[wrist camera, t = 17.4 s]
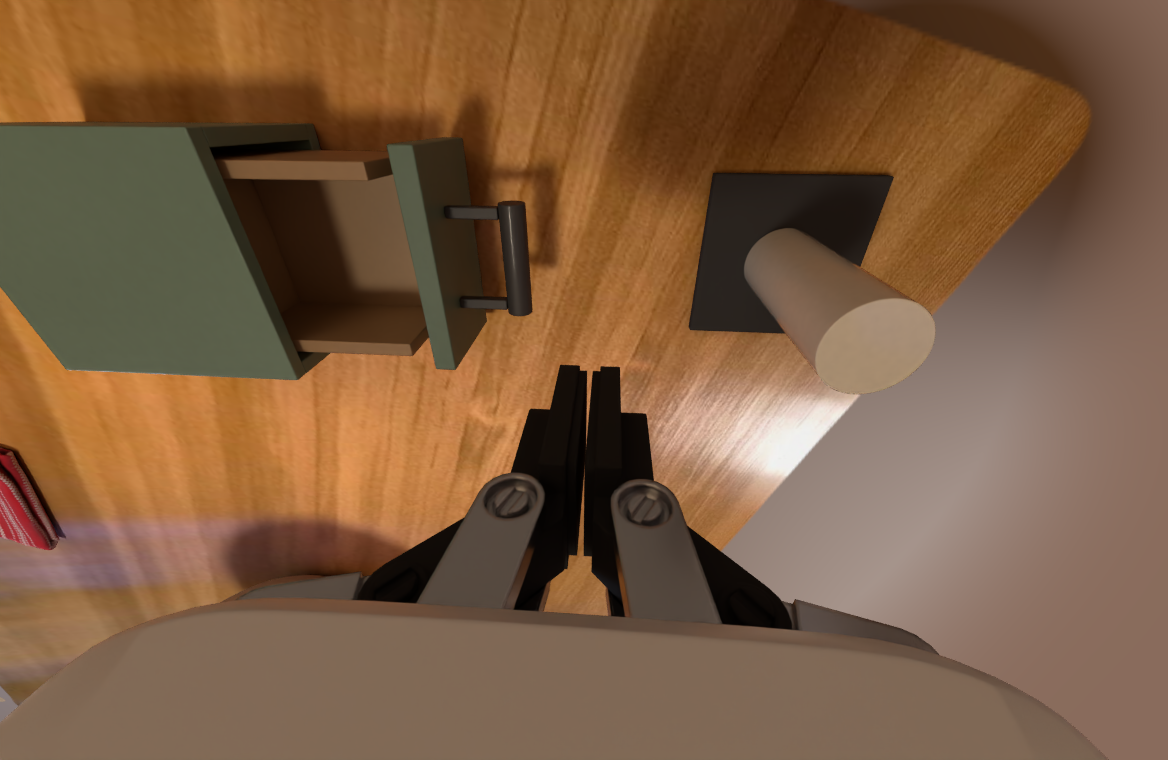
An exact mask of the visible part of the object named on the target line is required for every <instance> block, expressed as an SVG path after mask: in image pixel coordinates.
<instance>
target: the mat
mask: <svg viewBox="0 0 1168 760" xmlns="http://www.w3.org/2000/svg"><path fill="white" fill-rule="evenodd" d="M893 178H894V177H893V176H889V175H837V174H767V173H713V177H712V183H711V189H710V196H709V202H708V208H707V215H706V221H705V227H704V234H703V240H702V246H701V252H700V259H699V265H698V271H697V278H696V284H695V290H694V297H693V303H692V309H691V316H690V322H689V328H690V330H704V331H732V332H760V333H785V332H784V331H783V330H782V328H781V327H780V326H779V324H778V323H777V322H776V320H775V319H774V318H773V317H772V315H771V314H770V313H769V311H768V310H767V309H766V307H765V306H764V305H763V304H762V302H761V301H760V300H759V298H758V297H757V296H756V294H755V293H754V292H753V291H752V289H751V288H750V287H749V285H748V284H747V282H746V279H745V275H744V265H745V261H746V258H747V255H748V253H749V252H750V250H751V249H752V247H753V246H754V245H755V244H756V243H757V242H758V241H759V240H760V239H761V238H762V237H764V236H765V235H767V234H769V233H771V232H773V231H775V230H779V229H784V228H793V229H798V230H801V231H803V232H805V233H807V234H808V235H810V236H811V237H813V238H815V239H816V240H818V241H819V242H821V243H823V244H824V245H826V246H827V247H829V248H831V249H832V250H834V251H835V252H837V253H839V254H840V255H842V256H843V257H845V258H847V259H848V260H850V261H851V262H853V263H855V264H856V265H858V266H859V267H860V266H861V263H862V260H863V258H864V255H865V253H866V250H867V247H868V245H869V242H870V239H871V237H872V234H873V231H874V229H875V226H876V223H877V221H878V218H879V215H880V213H881V210H882V207H883V205H884V202H885V199H886V197H887V194H888V191H889V189H890V186H891V183H892V181H893Z"/></svg>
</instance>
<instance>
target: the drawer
mask: <svg viewBox="0 0 1168 760" xmlns="http://www.w3.org/2000/svg"><path fill="white" fill-rule="evenodd" d="M387 150H388V151H335V150H250V149H238V150H226V151H215V152H211V153H212V155H213V157H214V160H215V162H216V164H217V167H218V169H219V171H220V174H221V176H222V178H223V181H224V183H225V185H226V188H227V190H228V192H229V195H230V197H231V199H232V202H233V204H234V206H235V209H236V211H237V213H238V216H239V218H240V220H241V223H242V225H243V227H244V230H245V232H246V234H247V237H248V239H249V241H250V244H251V246H252V248H253V251H254V253H255V256H256V258H257V260H258V263H259V265H260V267H261V270H262V272H263V274H264V277H265V279H266V281H267V284H268V286H269V288H270V291H271V293H272V295H273V298H274V300H275V302H276V305H277V307H278V309H279V312H280V314H281V316H282V319H283V321H284V323H285V326H286V328H287V330H288V333H289V335H290V337H291V340H292V342H293V344H294V347H295V349H296V351H300V352H325V353H349V354H374V355H399V356H413V355H414V354H415V353H416V351H417V350H418V349H419V348H420V347H421V346H422V344H423V343H424V342H425V341H426V340H427V339H428V337H429V339H430V343H431V348H432V352H433V356H434V361H435V365H436V369H448V370H456V368H457V367H458V365H459V364H460V362H461V361H462V359H463V358H464V356H465V354H466V353H467V351H468V350H469V348H470V347H471V345H472V344H473V342H474V340H475V339H476V337H477V336H478V334H479V333H480V331H481V329H482V328H483V326H484V325H485V323H486V322H487V318H486V310H485V309H503V310H507V309H508V311H509V313H510V314H511V315H513V316H525V315H529V314H530V313H532V297H531V282H530V267H529V252H528V237H527V222H526V208H525V202H522V201H503V202H499V203H498V206H474V205H471V198H470V191H469V183H468V176H467V169H466V161H465V154H464V146H463V139H462V138H460V137H442V138H434V139H425V140H417V141H409V142H401V143H392V144H387ZM473 219H478V220H498V219H499V222H500V232H501V242H502V252H503V262H504V271H505V281H506V291H507V297H490V296H484V295H483V288H482V280H481V273H480V266H479V258H478V251H477V243H476V236H475V228H474V221H473Z"/></svg>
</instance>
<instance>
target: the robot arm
mask: <svg viewBox="0 0 1168 760" xmlns="http://www.w3.org/2000/svg"><path fill="white" fill-rule="evenodd" d="M586 415H587V371H580V366H577V365H560V368H559V372H558V377H557V381H556V386H555V390H554V395H553V399H552V404H551V408H550V410H549V409H530V410H529V413H528V416H527V420H526V423H525V426H524V430H523V433H522V436H521V440H520V443H519V447H518V450H517V453H516V457H515V460H514V463H513V467H512V470H511V473H508V474H502V475H500V476H498V477H495V478H493V479H492V480H490V481H489V482H488V483H486V484H485V485H484V486H483V488H482V489H481V490H480V492H479V493H478V495H477V497H476V499H475V500H474V502H473V504H472V506H471V507H470V509H469V511H468V513H467V514H466V516H465V517H464V518H463V519H461V520H459V521H458V522H456V523H454V524H453V525H451V526H449V527H447V528H446V529H444V530H442V531H441V532H439V533H437V534H435V535H434V536H432V537H430V538H429V539H427V540H425V541H424V542H422V543H420V544H418V545H417V546H415V547H413V548H412V549H410V550H408V551H407V552H405V553H403V554H401V555H400V556H398V557H396V558H395V559H393V560H391V561H389V562H388V563H386V564H384V565H383V566H382V567H380V568H379V569H378V570H376V571H375V572H374V573H373V574H372V575H370V576H363V574H362V572H355V573H348V574H342V575H335V576H328V577H322V578H315V579H309V580H302V581H296V582H289V583H283V584H276V585H270V586H264V587H261V588H257V589H254V590H251V591H249V592H247V593H246V594H244V595H242V596H240V597H238V598H237V599H235V600H234V601H228V602H222V603H216V604H210V605H205V606H200V607H194V608H191V609H187V610H184V611H180V612H177V613H173V614H170V615H166V616H163V617H159V618H156V619H153V620H150V621H148V622H145V623H142V624H139V625H137V626H134V627H132V628H129V629H127V630H125V631H122V632H120V633H118V634H115V635H113V636H111V637H110V638H108V639H106V640H104V641H102V642H101V643H99V644H97V645H95V646H93V647H92V648H90V649H89V650H88V651H86V652H85V653H83V654H82V655H80V656H79V657H77V658H76V659H75V660H73V661H72V662H71V663H69V664H68V665H67V666H65V667H64V668H63V669H62V670H60V671H59V672H58V673H57V674H55V675H54V676H53V677H52V678H50V679H49V680H48V681H47V682H46V683H44V684H43V685H42V686H41V687H40V688H39V689H37V690H36V691H35V692H34V693H33V694H31V695H30V696H29V697H28V698H27V699H26V700H25V701H24V702H23V703H21V704H20V705H19V706H18V707H17V708H16V709H15V710H14V711H13V712H11V714H9V715H8V716H7V717H6V718H5V719H4V720H3V721H1V722H0V760H1108V759H1107V758H1106V756H1105V755H1104V754H1103V753H1102V752H1100V750H1098V749H1097V748H1096V747H1095V746H1094V745H1093V744H1092V743H1091V742H1090V741H1089V740H1088V739H1087V738H1086V737H1085V736H1084V735H1083V734H1082V733H1080V732H1079V731H1078V730H1077V729H1076V728H1075V727H1074V726H1072V725H1071V724H1070V723H1069V722H1068V721H1067V720H1065V719H1064V718H1063V717H1062V716H1060V715H1059V714H1057V713H1056V712H1054V711H1053V710H1052V709H1050V708H1048V707H1047V706H1045V705H1044V704H1043V703H1042V702H1040V701H1039V700H1037V699H1035V698H1033V697H1031V696H1030V695H1028V694H1026V693H1025V692H1023V691H1021V690H1019V689H1018V688H1016V687H1014V686H1012V685H1010V684H1008V683H1006V682H1004V681H1002V680H1000V679H998V678H996V677H994V676H991V675H989V674H986V673H984V672H981V671H979V670H977V669H974V668H972V667H970V666H967V665H965V664H962V663H960V662H957V661H955V660H952V659H949V658H946V657H943V656H940V655H939V654H938V653H937V652H936V651H935V649H933V647H932V646H931V645H929V644H928V643H926V642H925V641H923V640H922V639H921V638H919V637H918V636H917V635H915V634H912V633H910V632H908V631H905V630H903V629H901V628H897V627H894V626H890V625H887V624H883V623H879V622H876V621H872V620H869V619H865V618H861V617H858V616H854V615H850V614H847V613H843V612H840V611H836V610H832V609H829V608H825V607H822V606H818V605H814V604H811V603H807V602H804V601H800V600H796V599H795V600H794V602H793V604H791V603H787V602H784V601H781V600H780V598H779V597H778V596H777V595H776V594H774V593H773V592H772V591H771V590H770V589H769V588H768V587H767V586H765V585H764V584H763V583H761V582H760V581H759V580H758V579H756V578H755V577H754V576H752V575H751V574H750V573H748V572H747V571H746V570H744V569H743V568H742V567H741V566H739V565H738V564H737V563H735V562H734V561H733V560H731V559H730V558H729V557H727V556H726V555H725V554H724V553H722V552H721V551H720V550H718V549H717V548H716V547H714V546H713V545H712V544H710V543H709V542H708V541H706V540H705V539H704V538H703V537H701V536H700V535H699V534H697V533H696V532H695V531H693V530H692V529H691V528H689V527H688V526H687V524H686V522H685V519H684V516H683V513H682V510H681V508H680V505H679V502H678V500H677V498H676V497H675V495H674V494H673V493H672V492H671V491H670V490H669V489H668V488H667V487H666V486H664V485H662V484H660V483H658V482H655V481H654V478H653V469H652V460H651V451H650V442H649V433H648V424H647V416H646V414H643V413H621V397H620V367H604V366H601V369H600V371H593V375H592V387H591V398H590V410H589V422H588V433H587V445H586ZM584 468H585V481H584V556H592V573H593V574H594V575H595V576H596V577H597V578H598V579H599V580H600V581H601V582H602V583H603V584H604V585H605V586H606V602H607V609H608V616H599V615H584V614H569V613H554V612H543V611H544V608H545V604H546V601H547V598H548V594H549V591H550V583H551V582H550V581H551V580H552V579H553V578H555V577H556V576H557V575H558V574H560V573H561V572H562V571H564V569H567V567H568V558H569V555H577V550H578V538H579V526H580V515H581V503H582V492H583V480H584Z"/></svg>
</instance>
